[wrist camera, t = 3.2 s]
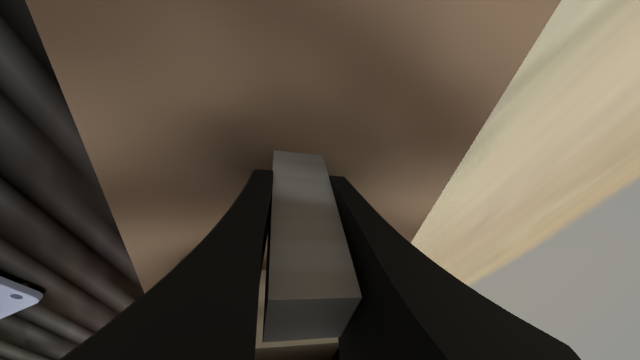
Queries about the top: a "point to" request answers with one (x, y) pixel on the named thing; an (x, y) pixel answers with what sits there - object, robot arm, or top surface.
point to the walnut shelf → (276, 100)
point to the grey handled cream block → (304, 265)
